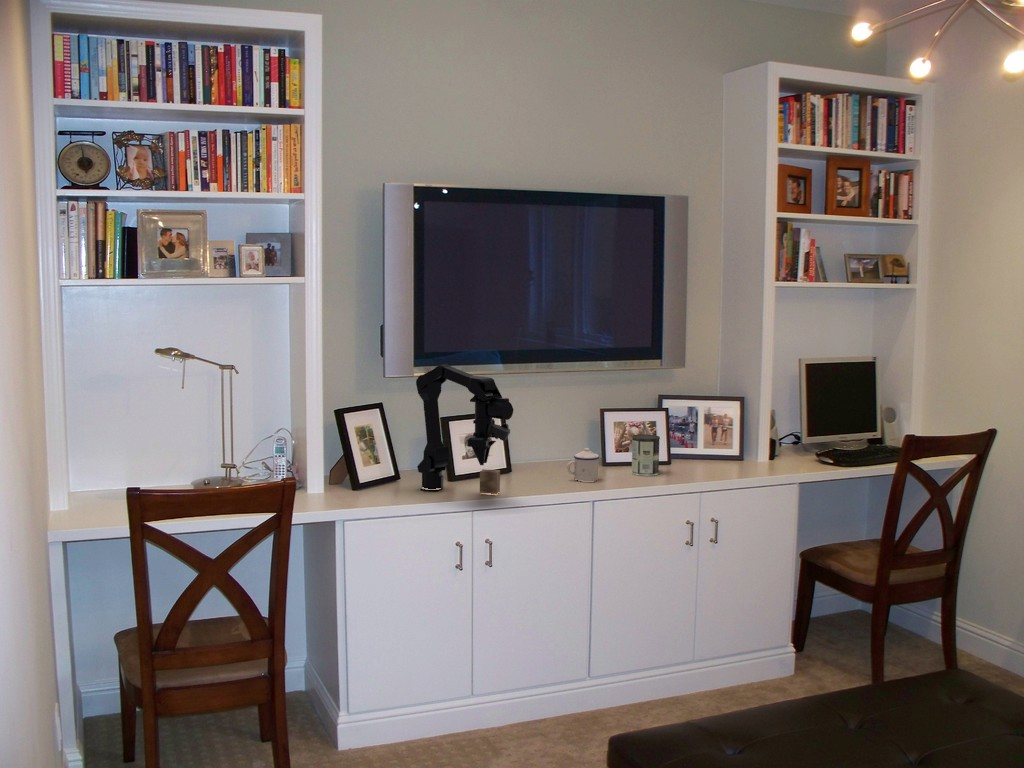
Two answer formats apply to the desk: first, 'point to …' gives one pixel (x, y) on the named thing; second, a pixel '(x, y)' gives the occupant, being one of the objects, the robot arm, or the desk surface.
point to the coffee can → (645, 455)
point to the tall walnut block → (489, 481)
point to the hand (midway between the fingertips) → (483, 464)
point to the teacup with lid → (585, 466)
